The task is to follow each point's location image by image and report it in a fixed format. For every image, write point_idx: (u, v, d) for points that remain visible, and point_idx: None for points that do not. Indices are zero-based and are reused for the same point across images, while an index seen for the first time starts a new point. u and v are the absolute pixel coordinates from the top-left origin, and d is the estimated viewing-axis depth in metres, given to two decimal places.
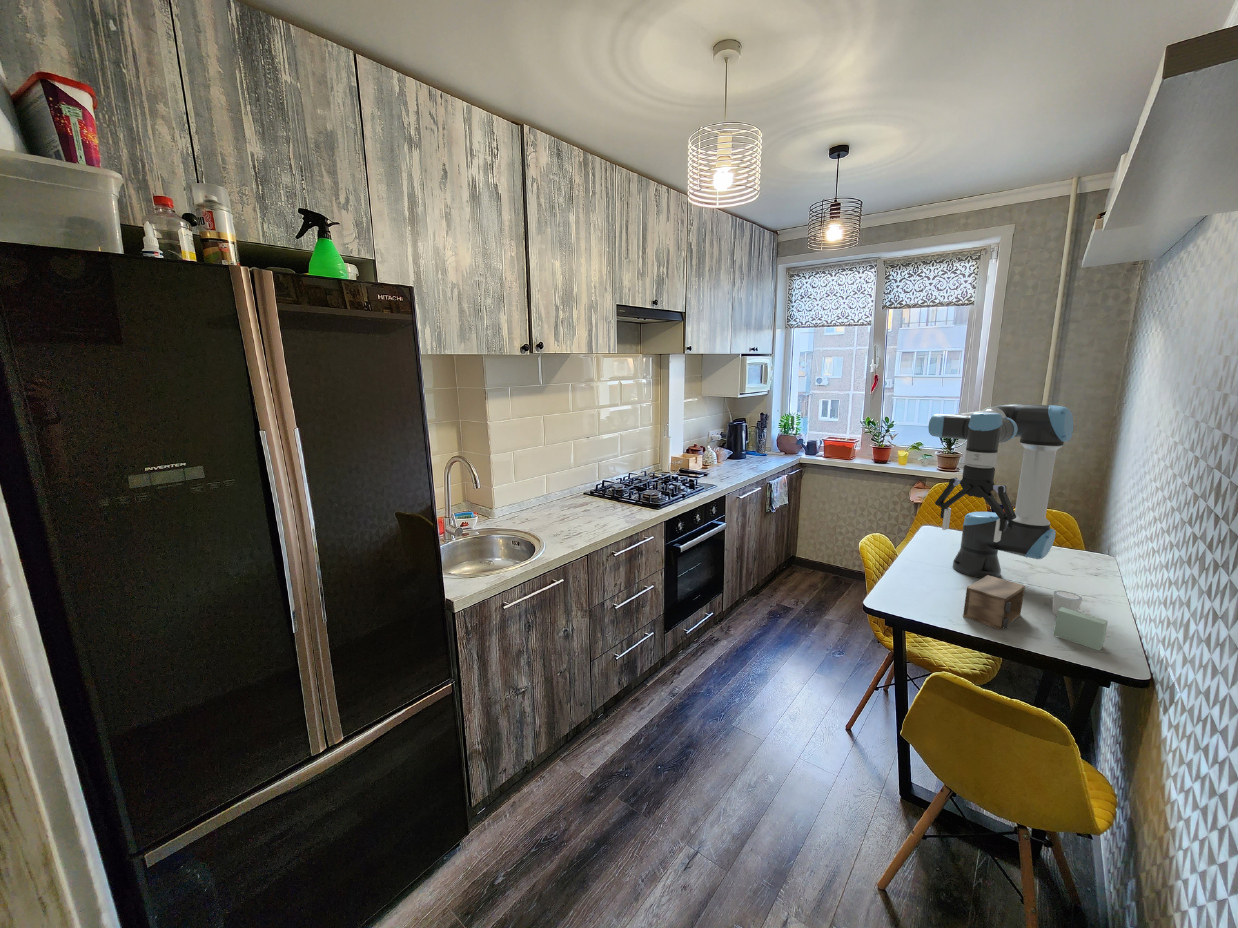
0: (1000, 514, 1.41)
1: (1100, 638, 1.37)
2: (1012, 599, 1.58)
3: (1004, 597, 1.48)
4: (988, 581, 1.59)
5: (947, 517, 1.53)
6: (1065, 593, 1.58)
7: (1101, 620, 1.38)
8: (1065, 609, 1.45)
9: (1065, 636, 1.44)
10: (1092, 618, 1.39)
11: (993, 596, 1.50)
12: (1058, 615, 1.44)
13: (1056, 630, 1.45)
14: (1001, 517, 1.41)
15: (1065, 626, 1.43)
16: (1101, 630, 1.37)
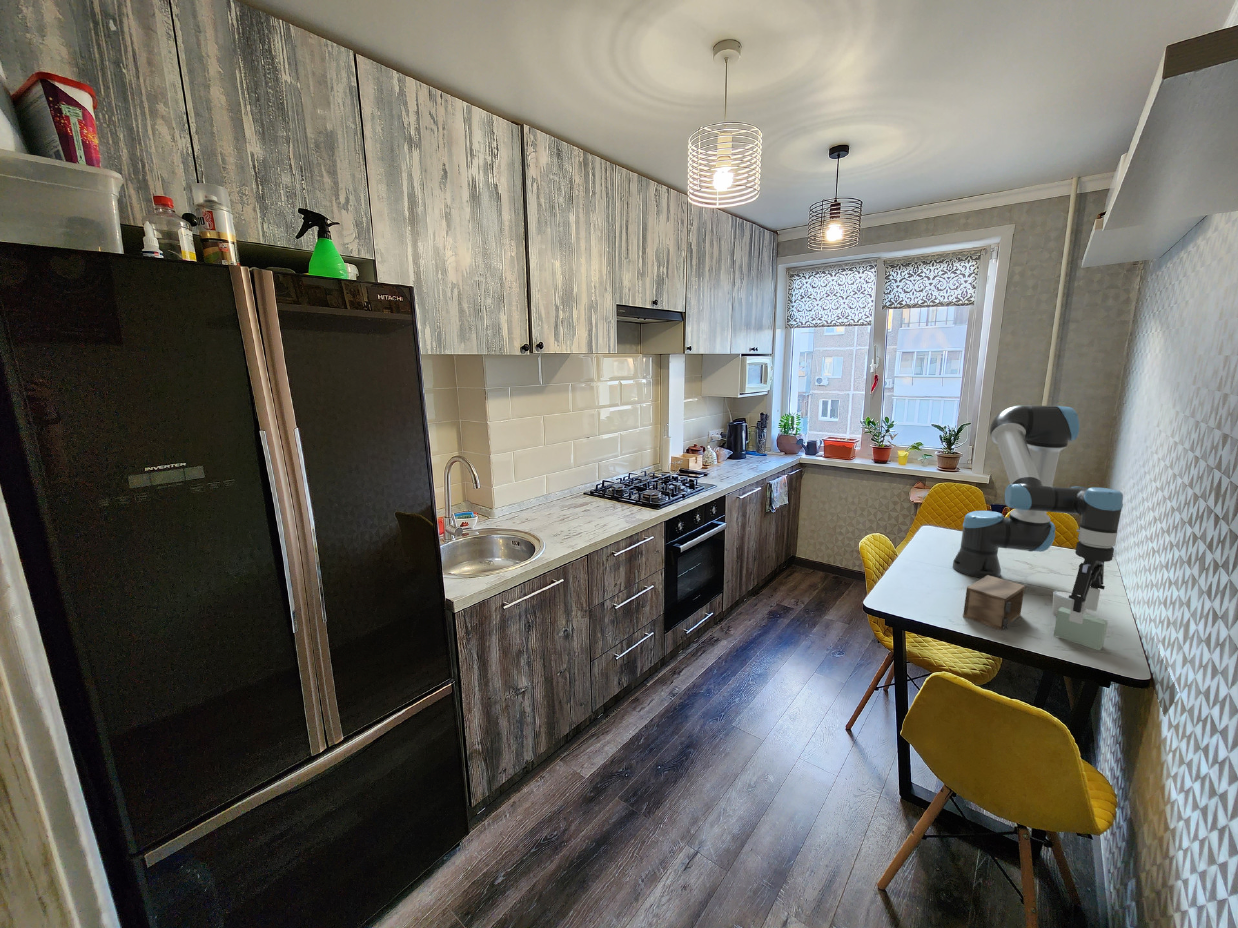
0: None
1: (1100, 638, 1.37)
2: (1012, 599, 1.58)
3: (1004, 597, 1.48)
4: (988, 581, 1.59)
5: (1088, 596, 1.45)
6: (1065, 593, 1.58)
7: (1101, 620, 1.38)
8: (1065, 609, 1.45)
9: (1065, 636, 1.44)
10: (1092, 618, 1.39)
11: (993, 596, 1.50)
12: (1058, 615, 1.44)
13: (1056, 630, 1.45)
14: None
15: (1065, 626, 1.43)
16: (1101, 630, 1.37)
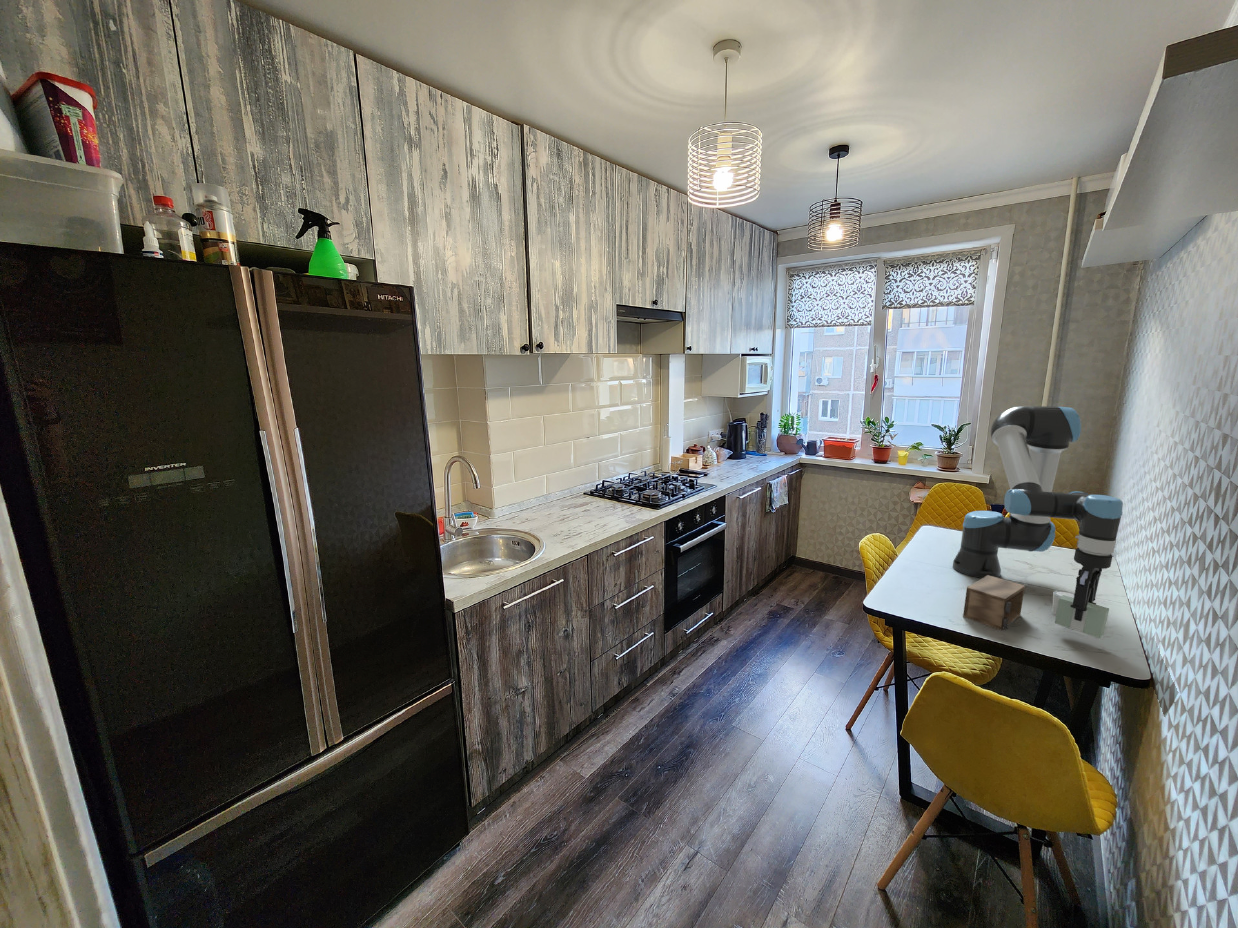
0: None
1: (1101, 626, 1.37)
2: (1012, 599, 1.58)
3: (1004, 597, 1.48)
4: (988, 581, 1.59)
5: None
6: (1065, 593, 1.58)
7: (1103, 608, 1.38)
8: (1066, 597, 1.45)
9: (1066, 624, 1.44)
10: (1094, 606, 1.39)
11: (993, 596, 1.50)
12: (1059, 603, 1.44)
13: (1057, 618, 1.45)
14: None
15: (1067, 614, 1.43)
16: (1102, 618, 1.37)
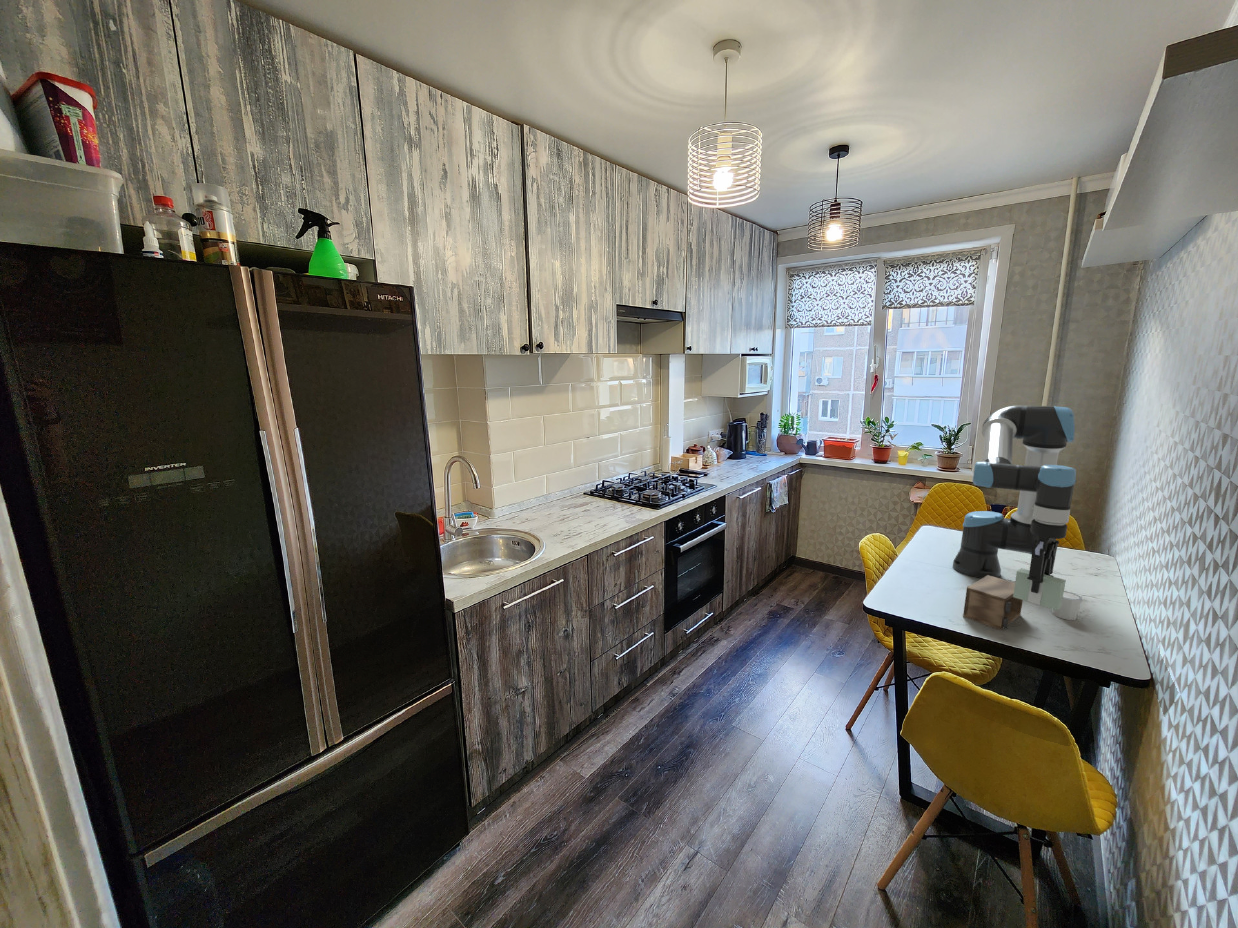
0: None
1: (1058, 597, 1.36)
2: (1012, 599, 1.58)
3: (1004, 597, 1.48)
4: (988, 581, 1.59)
5: None
6: (1065, 593, 1.58)
7: (1059, 579, 1.37)
8: (1024, 570, 1.43)
9: (1024, 597, 1.42)
10: (1051, 578, 1.38)
11: (993, 596, 1.50)
12: (1017, 576, 1.43)
13: (1015, 591, 1.44)
14: None
15: (1024, 587, 1.42)
16: (1059, 589, 1.35)
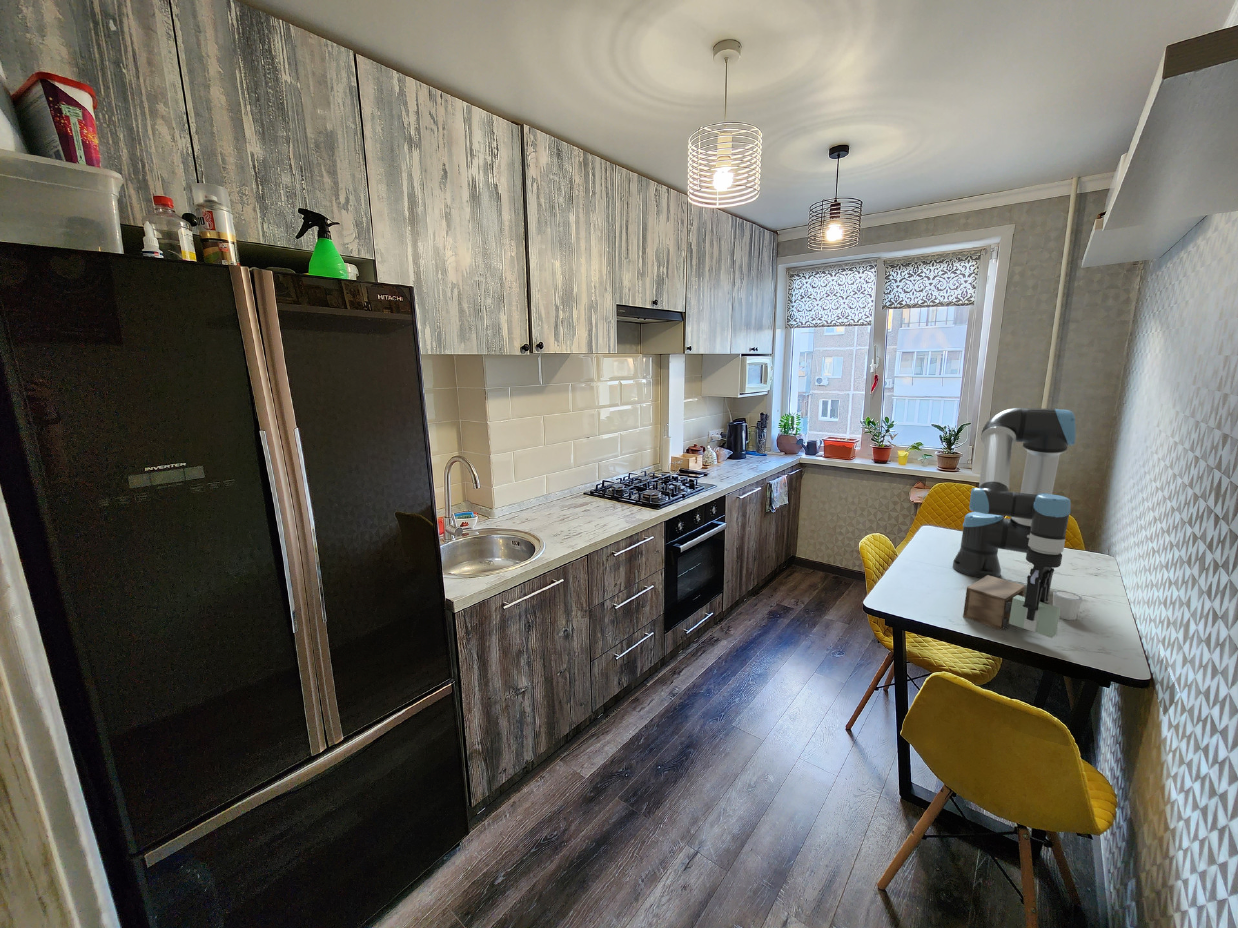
0: None
1: (1053, 625, 1.37)
2: (1012, 599, 1.58)
3: (1004, 597, 1.48)
4: (988, 581, 1.59)
5: None
6: (1065, 593, 1.58)
7: (1054, 607, 1.38)
8: (1020, 597, 1.45)
9: (1020, 624, 1.43)
10: (1046, 606, 1.39)
11: (993, 596, 1.50)
12: (1013, 603, 1.44)
13: (1011, 618, 1.45)
14: None
15: (1020, 614, 1.43)
16: (1054, 617, 1.37)
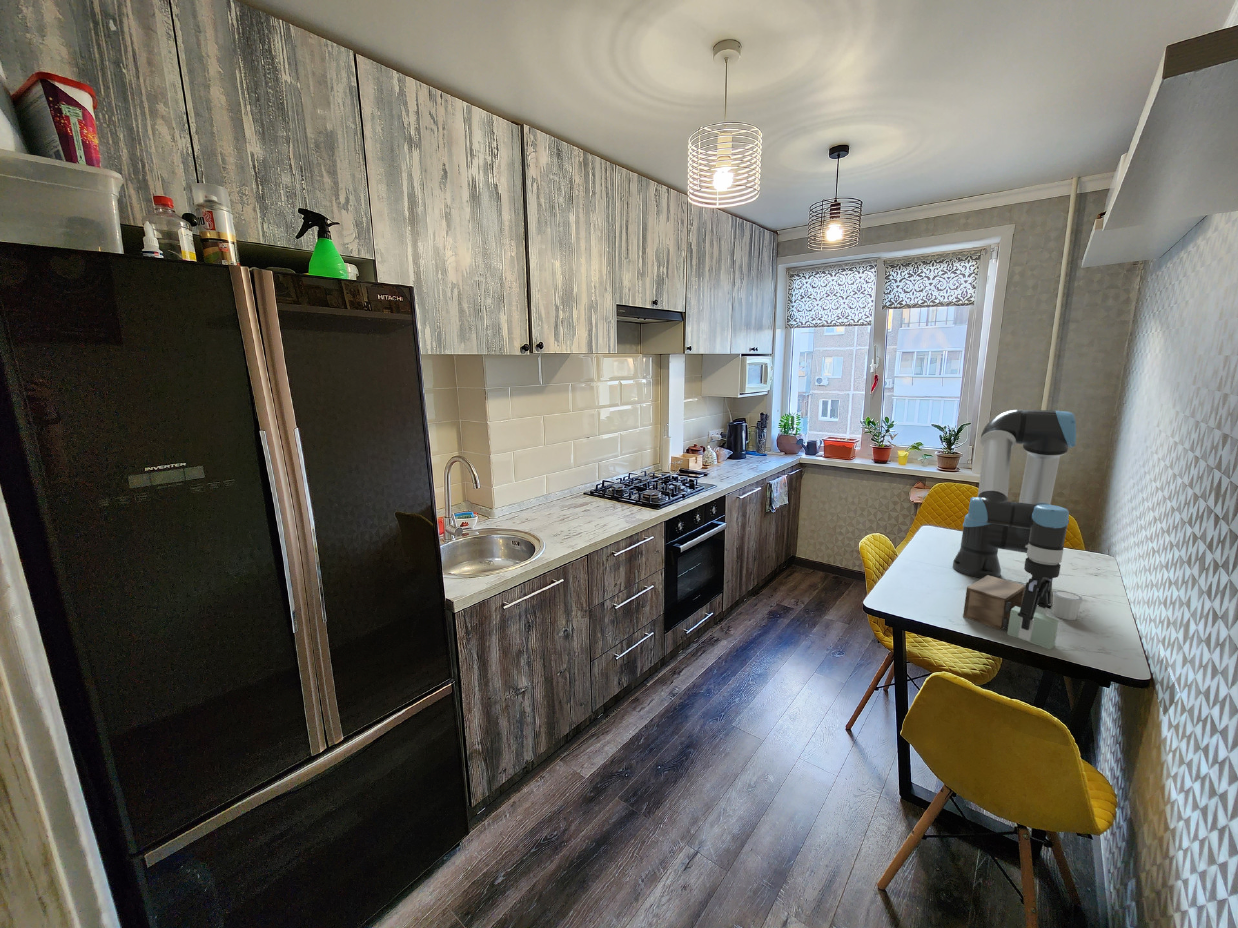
0: None
1: (1051, 637, 1.38)
2: (1012, 599, 1.58)
3: (1004, 597, 1.48)
4: (988, 581, 1.59)
5: None
6: (1065, 593, 1.58)
7: (1052, 619, 1.39)
8: (1018, 608, 1.46)
9: None
10: (1044, 617, 1.40)
11: (993, 596, 1.50)
12: (1011, 614, 1.45)
13: (1010, 629, 1.46)
14: None
15: (1018, 625, 1.44)
16: (1052, 629, 1.38)
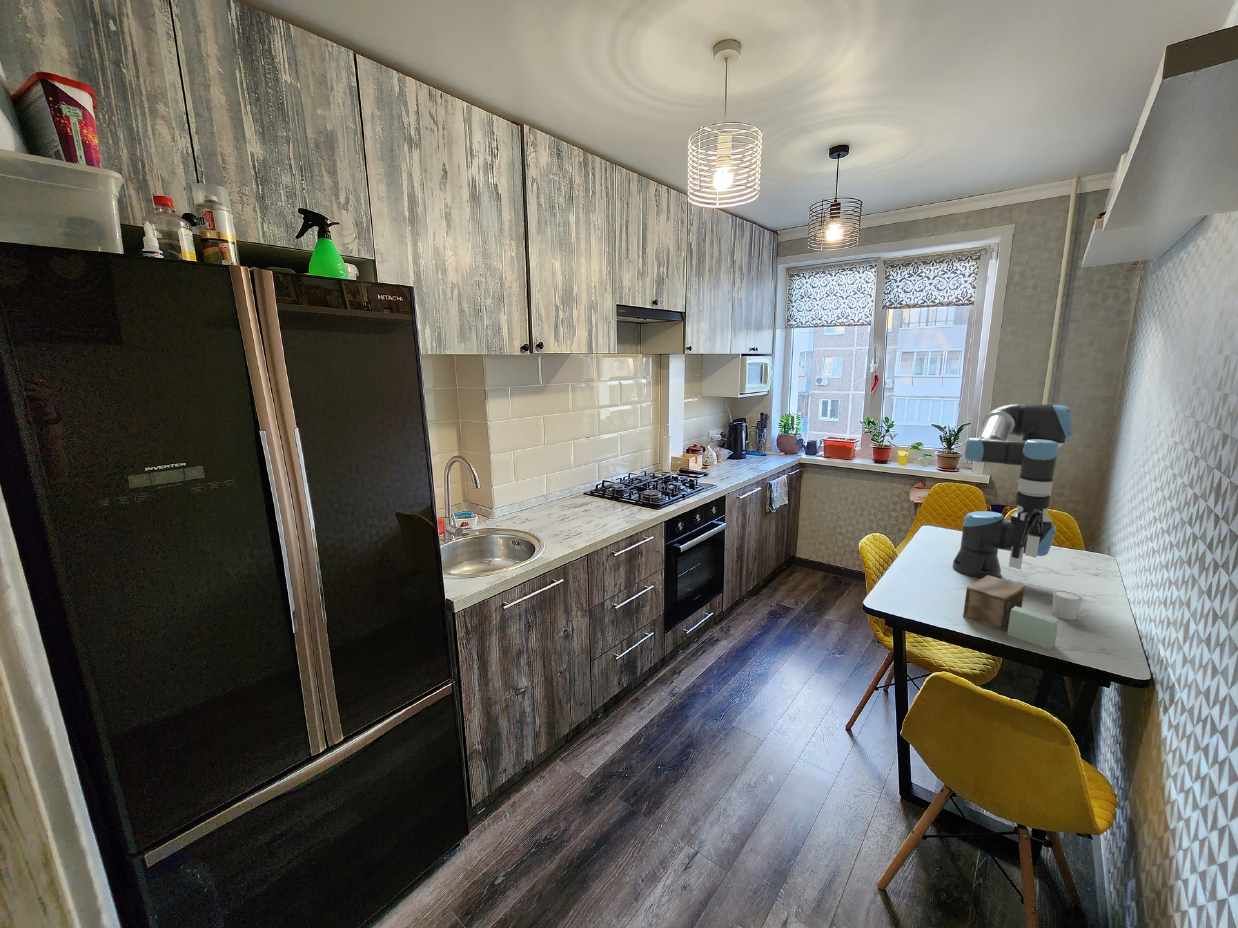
0: None
1: (1051, 637, 1.38)
2: (1012, 599, 1.58)
3: (1004, 597, 1.48)
4: (988, 581, 1.59)
5: (1029, 544, 1.52)
6: (1065, 593, 1.58)
7: (1052, 619, 1.39)
8: (1018, 608, 1.46)
9: (1018, 635, 1.44)
10: (1044, 617, 1.40)
11: (993, 596, 1.50)
12: (1011, 614, 1.45)
13: (1010, 629, 1.46)
14: None
15: (1018, 625, 1.44)
16: (1052, 629, 1.38)
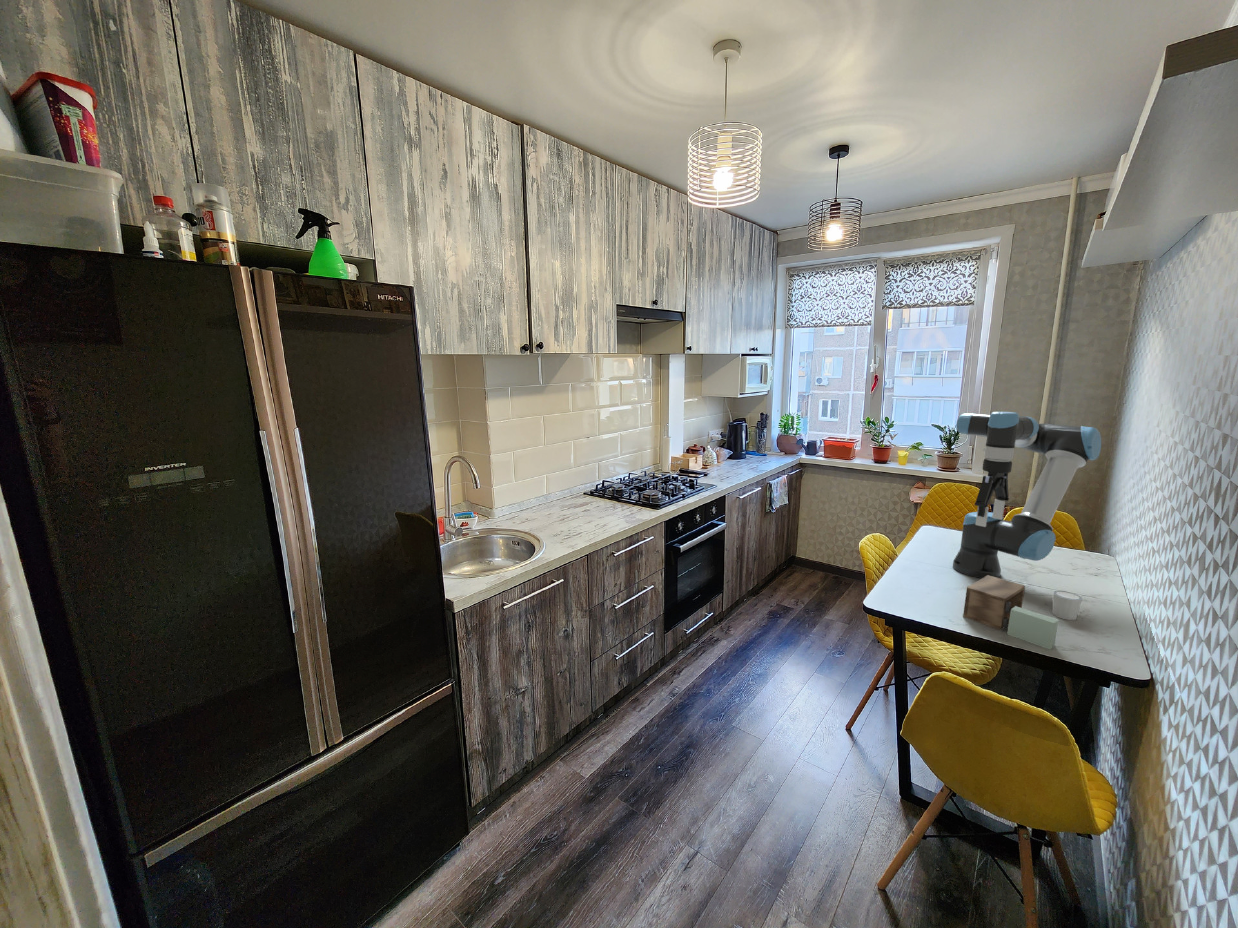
0: None
1: (1051, 637, 1.38)
2: (1012, 599, 1.58)
3: (1004, 597, 1.48)
4: (988, 581, 1.59)
5: (996, 507, 1.69)
6: (1065, 593, 1.58)
7: (1052, 619, 1.39)
8: (1018, 608, 1.46)
9: (1018, 635, 1.44)
10: (1044, 617, 1.40)
11: (993, 596, 1.50)
12: (1011, 614, 1.45)
13: (1010, 629, 1.46)
14: None
15: (1018, 625, 1.44)
16: (1052, 629, 1.38)
